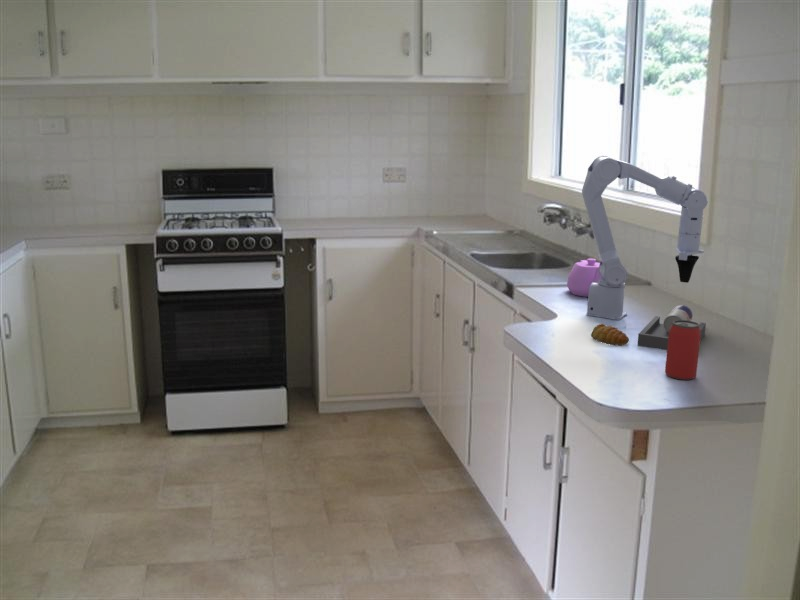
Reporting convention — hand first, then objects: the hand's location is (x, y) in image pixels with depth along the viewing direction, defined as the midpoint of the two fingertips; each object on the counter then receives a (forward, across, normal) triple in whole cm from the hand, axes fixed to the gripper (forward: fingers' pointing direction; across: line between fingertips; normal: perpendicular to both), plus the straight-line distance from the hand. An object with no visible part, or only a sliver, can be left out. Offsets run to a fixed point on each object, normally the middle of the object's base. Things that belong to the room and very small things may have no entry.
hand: (684, 281), depth 227 cm
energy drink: (+6, -11, -2) cm, 13 cm away
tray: (+10, -23, -2) cm, 25 cm away
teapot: (+11, +15, +30) cm, 35 cm away
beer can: (+11, -52, -9) cm, 54 cm away
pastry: (+11, -33, +12) cm, 37 cm away
